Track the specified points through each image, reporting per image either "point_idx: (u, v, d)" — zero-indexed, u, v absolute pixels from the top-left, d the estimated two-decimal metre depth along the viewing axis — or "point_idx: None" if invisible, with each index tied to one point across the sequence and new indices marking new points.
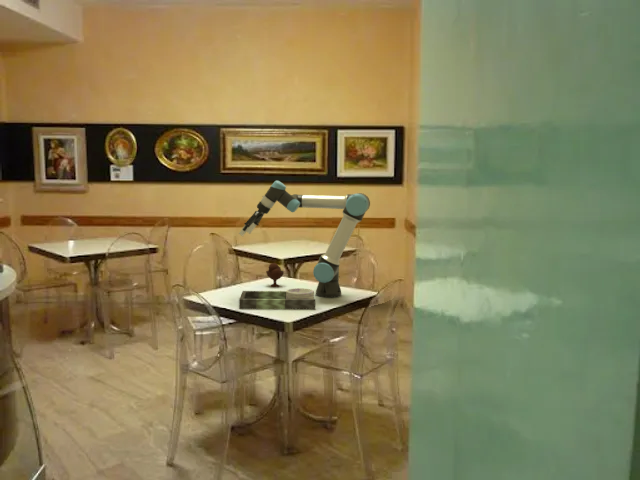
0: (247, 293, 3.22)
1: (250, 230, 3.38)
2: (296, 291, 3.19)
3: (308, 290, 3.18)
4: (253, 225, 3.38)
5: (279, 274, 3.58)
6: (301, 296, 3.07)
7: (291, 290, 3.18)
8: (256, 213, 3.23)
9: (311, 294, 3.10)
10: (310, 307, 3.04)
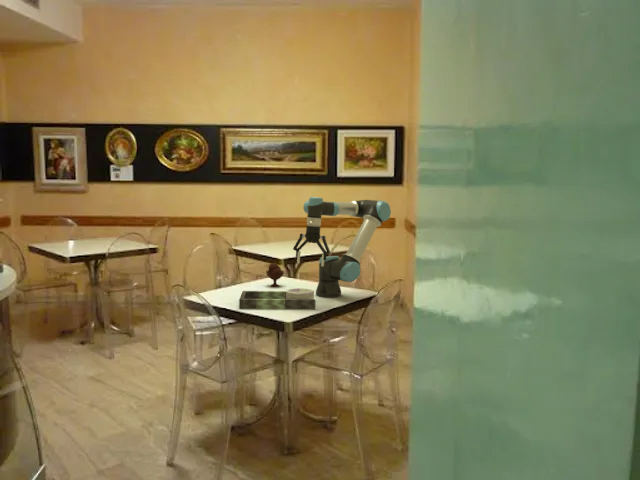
0: (247, 293, 3.22)
1: (299, 259, 3.13)
2: (296, 291, 3.19)
3: (308, 290, 3.18)
4: (299, 253, 3.12)
5: (279, 274, 3.58)
6: (301, 296, 3.07)
7: (291, 290, 3.18)
8: (324, 237, 3.08)
9: (311, 294, 3.10)
10: (310, 307, 3.04)
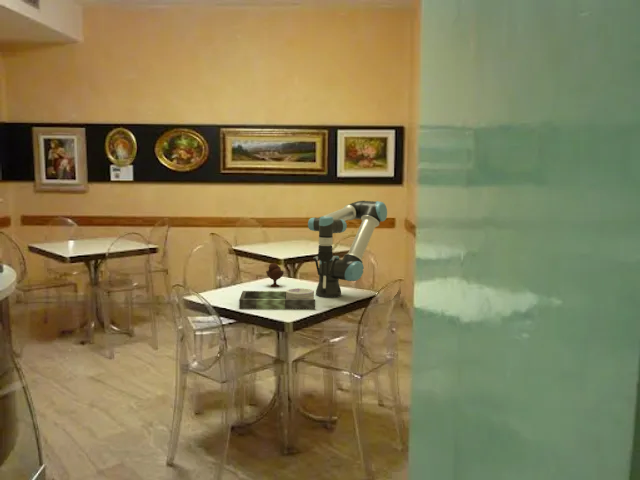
0: (247, 293, 3.22)
1: None
2: (296, 291, 3.19)
3: (308, 290, 3.18)
4: None
5: (279, 274, 3.58)
6: (301, 296, 3.07)
7: (291, 290, 3.18)
8: None
9: (311, 294, 3.10)
10: (310, 307, 3.04)
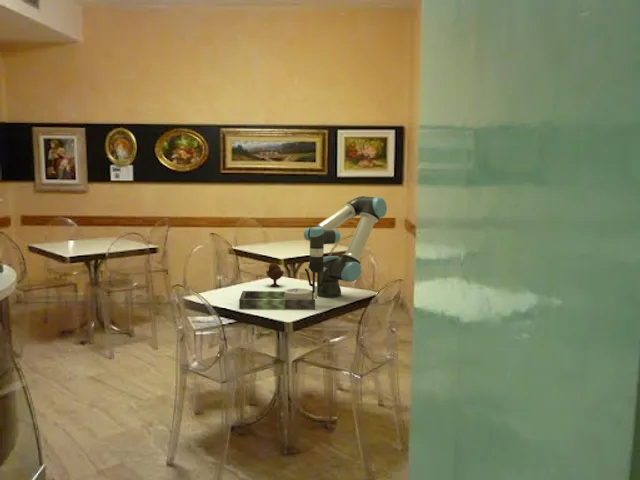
0: (247, 293, 3.22)
1: None
2: (294, 291, 3.19)
3: (306, 290, 3.18)
4: None
5: (279, 274, 3.58)
6: (299, 296, 3.06)
7: (289, 290, 3.17)
8: None
9: (309, 294, 3.10)
10: (310, 307, 3.04)
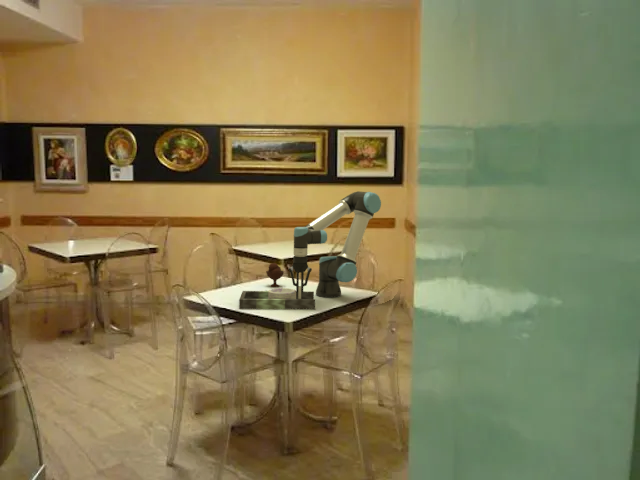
0: (247, 293, 3.22)
1: None
2: (278, 291, 3.18)
3: (290, 290, 3.17)
4: None
5: (279, 274, 3.58)
6: (283, 296, 3.06)
7: (273, 290, 3.17)
8: None
9: (293, 294, 3.09)
10: (310, 307, 3.04)
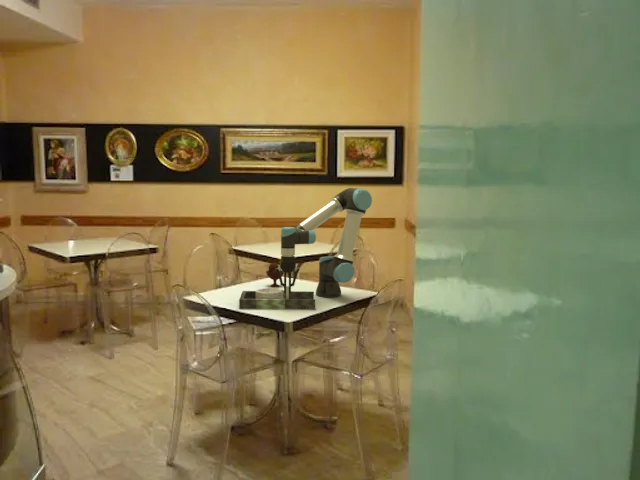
0: (247, 293, 3.22)
1: None
2: (266, 291, 3.18)
3: (278, 290, 3.17)
4: None
5: None
6: (270, 296, 3.05)
7: (261, 290, 3.16)
8: (298, 270, 3.12)
9: (281, 294, 3.09)
10: (310, 307, 3.04)
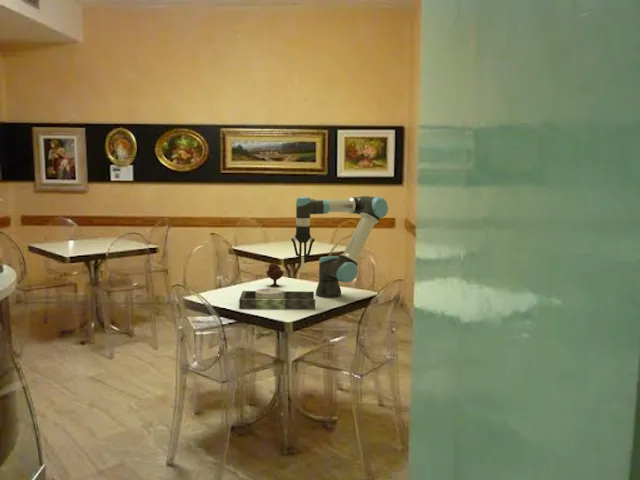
0: (247, 293, 3.22)
1: None
2: (266, 291, 3.18)
3: (278, 290, 3.17)
4: None
5: (279, 274, 3.58)
6: (270, 296, 3.05)
7: (261, 290, 3.16)
8: (313, 240, 3.11)
9: (280, 294, 3.09)
10: (310, 307, 3.04)
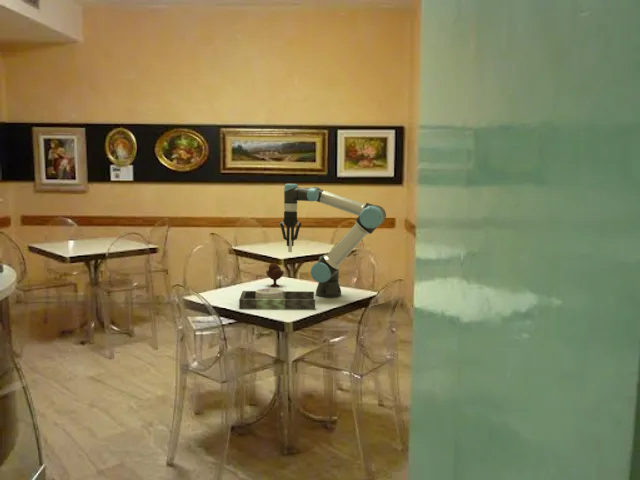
0: (247, 293, 3.22)
1: None
2: (266, 291, 3.18)
3: (278, 290, 3.17)
4: None
5: (279, 274, 3.58)
6: (270, 296, 3.05)
7: (261, 290, 3.16)
8: None
9: (280, 294, 3.09)
10: (310, 307, 3.04)
